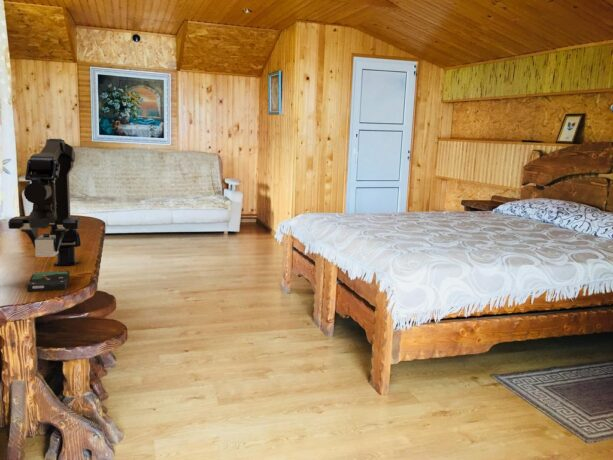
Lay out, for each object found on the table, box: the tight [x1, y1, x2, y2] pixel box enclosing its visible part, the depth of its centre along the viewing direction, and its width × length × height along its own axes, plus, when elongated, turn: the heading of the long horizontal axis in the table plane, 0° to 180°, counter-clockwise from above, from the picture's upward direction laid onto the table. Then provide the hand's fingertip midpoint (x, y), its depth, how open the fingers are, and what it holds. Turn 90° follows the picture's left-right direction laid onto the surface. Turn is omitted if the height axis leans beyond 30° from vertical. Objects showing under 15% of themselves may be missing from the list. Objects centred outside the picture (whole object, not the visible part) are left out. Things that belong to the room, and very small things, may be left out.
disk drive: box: [26, 270, 70, 293], centre depth 162 cm, size 10×3×15 cm
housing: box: [34, 232, 59, 258], centre depth 160 cm, size 5×5×6 cm
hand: (47, 251), depth 161 cm, fingers closed on housing, 5 cm apart
